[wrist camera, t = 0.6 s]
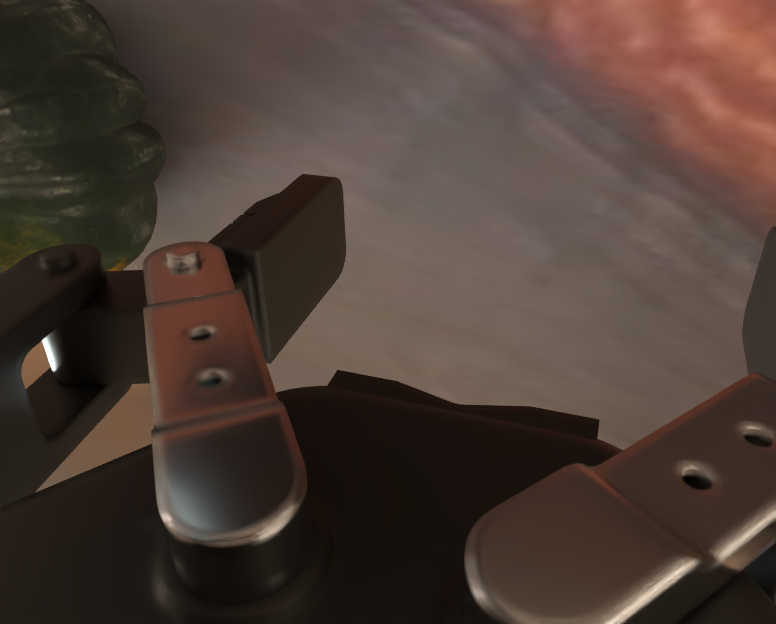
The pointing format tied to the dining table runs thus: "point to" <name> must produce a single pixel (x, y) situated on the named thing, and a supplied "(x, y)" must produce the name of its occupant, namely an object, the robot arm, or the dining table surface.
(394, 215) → the dining table surface
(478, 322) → the dining table surface
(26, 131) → the squash
